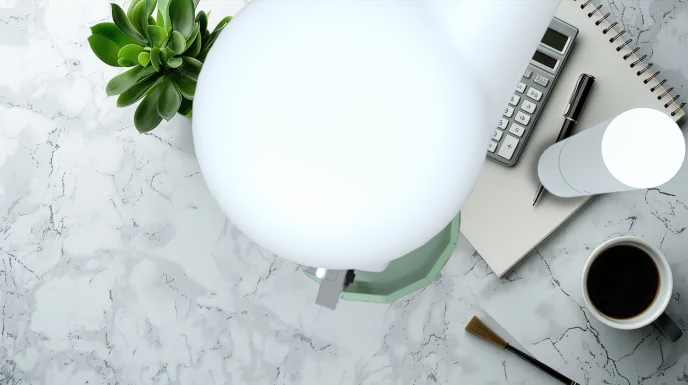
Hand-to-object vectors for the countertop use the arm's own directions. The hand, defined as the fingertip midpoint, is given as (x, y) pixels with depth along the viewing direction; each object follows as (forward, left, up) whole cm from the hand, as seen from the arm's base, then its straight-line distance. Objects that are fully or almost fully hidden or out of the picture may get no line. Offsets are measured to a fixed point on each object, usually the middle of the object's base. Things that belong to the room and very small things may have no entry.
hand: (375, 182), depth 44 cm
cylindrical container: (-22, +7, -38) cm, 44 cm away
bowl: (+2, +2, -14) cm, 14 cm away
